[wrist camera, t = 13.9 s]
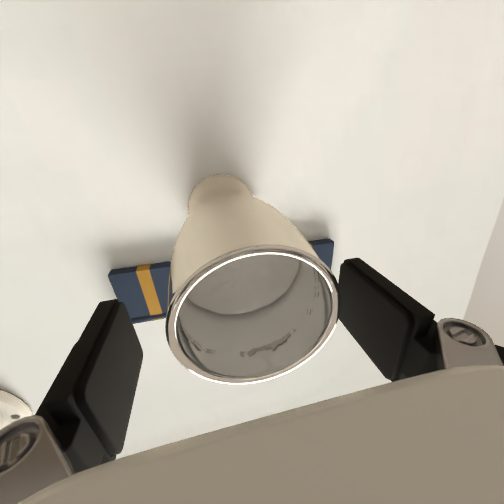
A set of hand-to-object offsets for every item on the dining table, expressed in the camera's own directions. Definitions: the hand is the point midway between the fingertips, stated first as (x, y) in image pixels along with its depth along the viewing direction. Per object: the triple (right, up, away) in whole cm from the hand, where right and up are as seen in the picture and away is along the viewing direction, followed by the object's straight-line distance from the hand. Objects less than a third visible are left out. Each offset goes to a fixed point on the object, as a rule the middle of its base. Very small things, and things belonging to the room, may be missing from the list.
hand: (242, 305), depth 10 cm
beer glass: (-2, +6, +12) cm, 14 cm away
